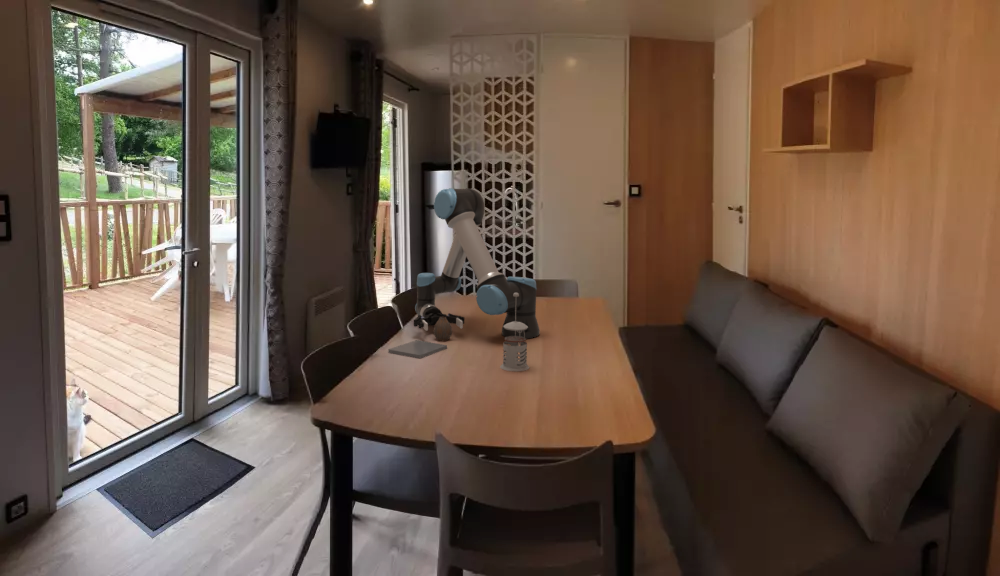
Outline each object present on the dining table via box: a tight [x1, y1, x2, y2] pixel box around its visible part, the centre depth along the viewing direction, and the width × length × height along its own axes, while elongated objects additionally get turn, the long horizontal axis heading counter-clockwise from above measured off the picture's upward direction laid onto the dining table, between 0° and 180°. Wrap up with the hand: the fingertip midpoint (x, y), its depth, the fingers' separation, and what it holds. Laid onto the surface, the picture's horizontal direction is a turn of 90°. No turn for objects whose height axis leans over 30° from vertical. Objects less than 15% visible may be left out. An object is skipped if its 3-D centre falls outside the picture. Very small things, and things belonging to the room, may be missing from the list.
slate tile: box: [388, 339, 448, 359], centre depth 231 cm, size 14×16×1 cm
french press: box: [499, 293, 530, 372], centre depth 212 cm, size 10×12×25 cm
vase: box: [433, 317, 453, 342], centre depth 247 cm, size 7×7×9 cm
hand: (444, 326), depth 244 cm, fingers open, 13 cm apart
